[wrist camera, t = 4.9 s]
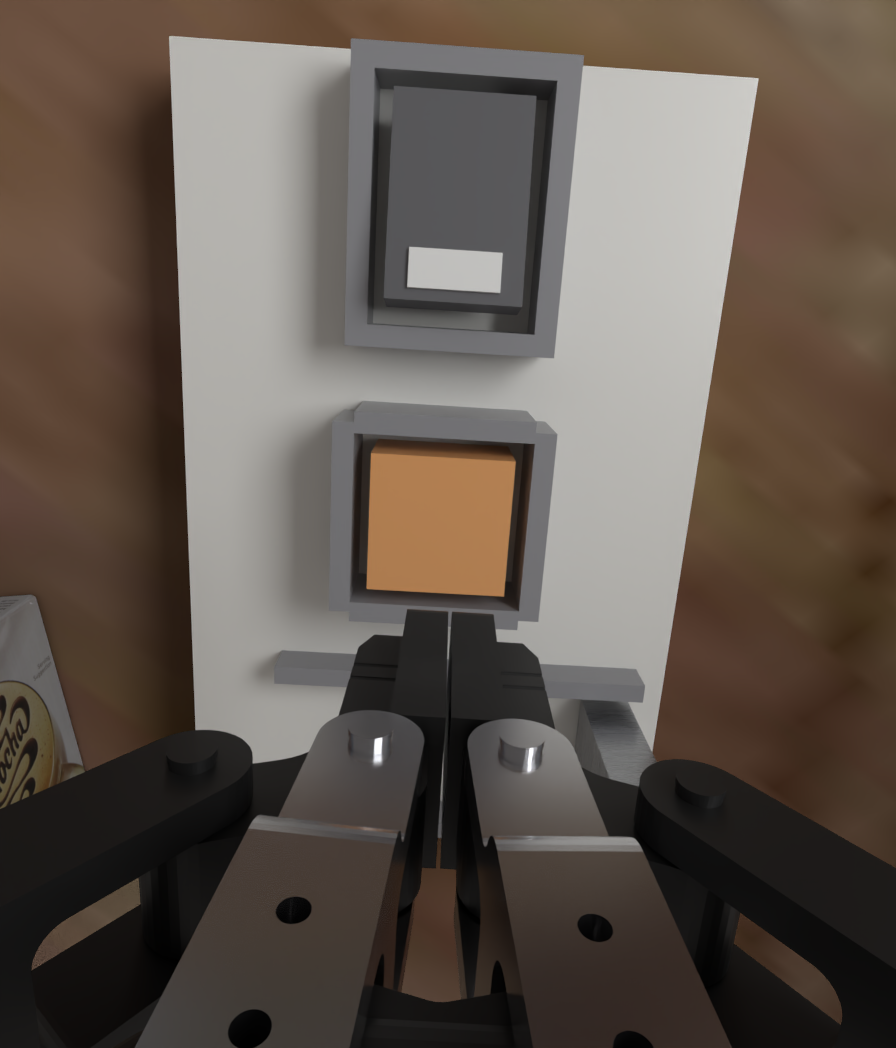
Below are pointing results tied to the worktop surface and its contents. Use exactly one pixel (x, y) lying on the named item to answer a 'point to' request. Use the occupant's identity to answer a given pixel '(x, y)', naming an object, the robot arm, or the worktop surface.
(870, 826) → the worktop surface
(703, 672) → the worktop surface
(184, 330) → the control panel
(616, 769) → the slide paddle
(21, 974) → the robot arm
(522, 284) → the rocker switch
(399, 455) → the push button
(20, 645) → the coffee box
